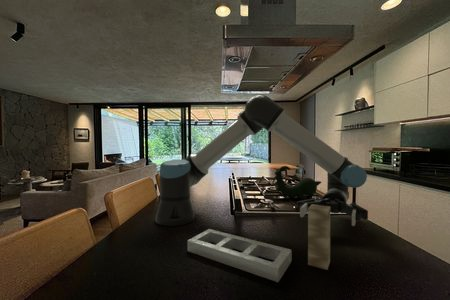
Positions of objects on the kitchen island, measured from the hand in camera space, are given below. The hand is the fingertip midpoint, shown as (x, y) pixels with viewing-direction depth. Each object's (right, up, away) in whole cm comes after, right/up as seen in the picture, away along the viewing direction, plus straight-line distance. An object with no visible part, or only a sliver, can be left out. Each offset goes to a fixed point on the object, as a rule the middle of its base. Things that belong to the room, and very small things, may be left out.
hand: (325, 216), depth 63 cm
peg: (-5, -9, -8) cm, 13 cm away
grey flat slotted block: (-26, -9, -4) cm, 28 cm away
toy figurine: (+12, -8, +59) cm, 61 cm away
